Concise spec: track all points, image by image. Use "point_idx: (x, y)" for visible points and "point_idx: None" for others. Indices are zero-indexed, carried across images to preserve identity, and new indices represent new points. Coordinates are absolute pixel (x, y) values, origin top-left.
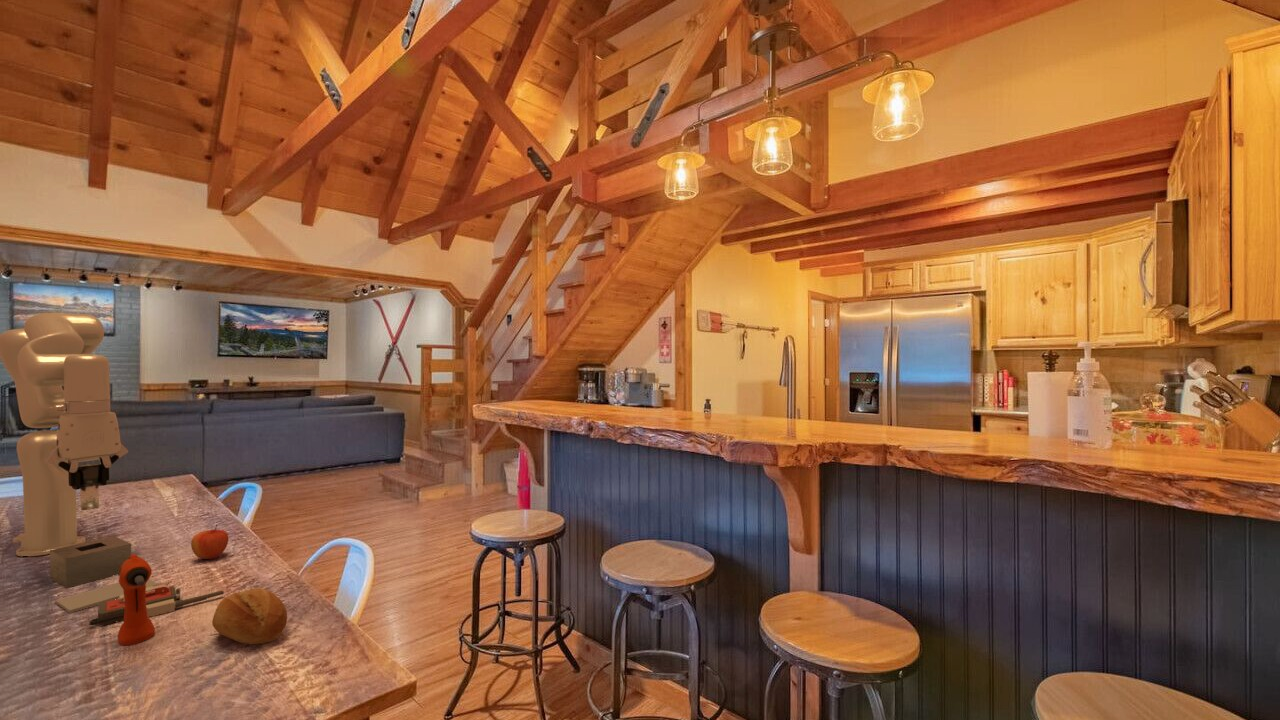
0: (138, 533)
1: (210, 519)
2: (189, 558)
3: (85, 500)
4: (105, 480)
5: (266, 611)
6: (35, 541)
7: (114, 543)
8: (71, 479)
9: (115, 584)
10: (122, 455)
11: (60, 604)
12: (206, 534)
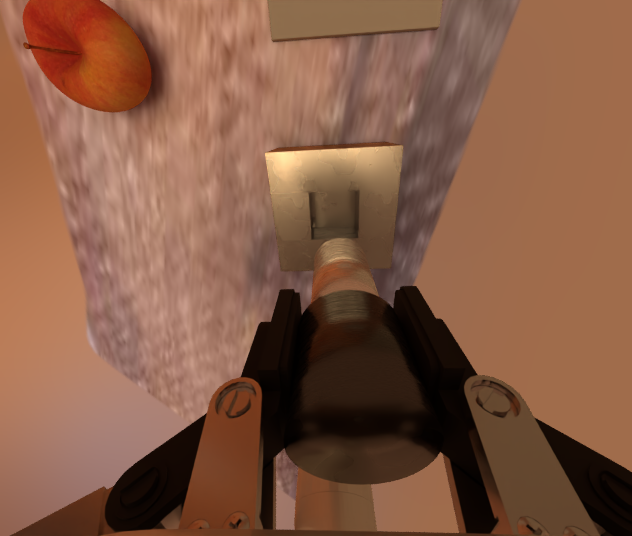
0: (234, 375)
1: (135, 364)
2: (173, 124)
3: (363, 259)
4: (281, 302)
5: None
6: None
7: (293, 196)
8: (454, 345)
9: (328, 25)
10: (69, 508)
11: None
12: (72, 17)
